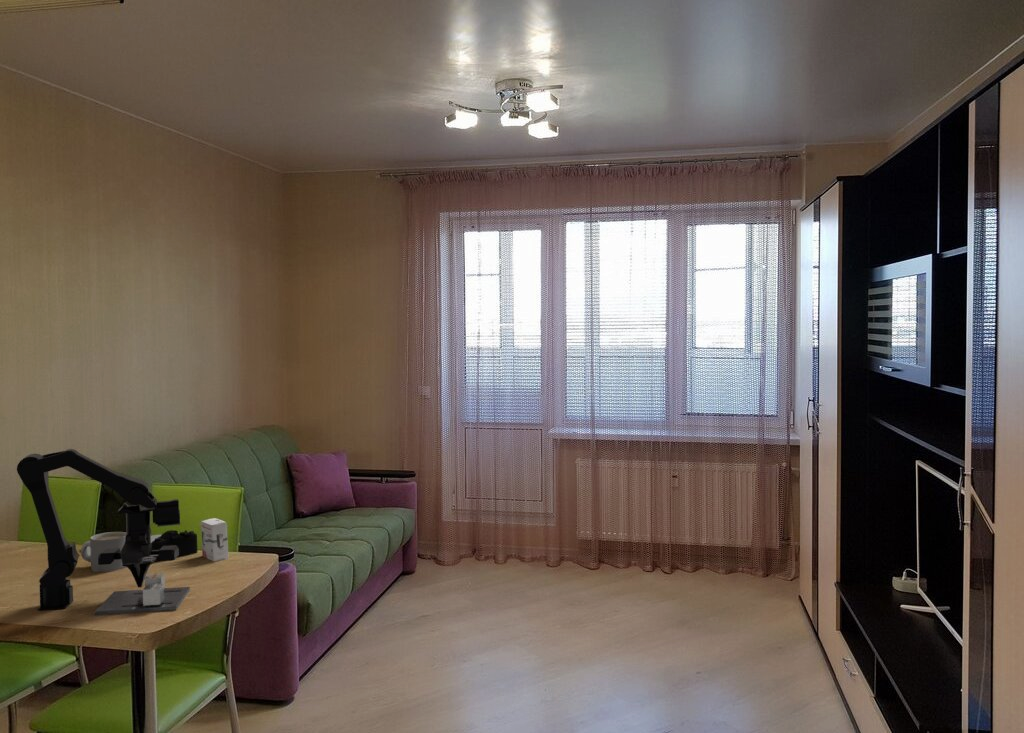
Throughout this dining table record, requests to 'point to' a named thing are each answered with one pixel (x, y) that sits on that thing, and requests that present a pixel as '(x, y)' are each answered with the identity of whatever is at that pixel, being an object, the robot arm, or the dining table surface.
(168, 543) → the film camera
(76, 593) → the dining table surface
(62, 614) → the dining table surface
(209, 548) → the ink box
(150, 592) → the fader
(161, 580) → the fader
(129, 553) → the robot arm
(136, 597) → the plate
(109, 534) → the coffee mug
